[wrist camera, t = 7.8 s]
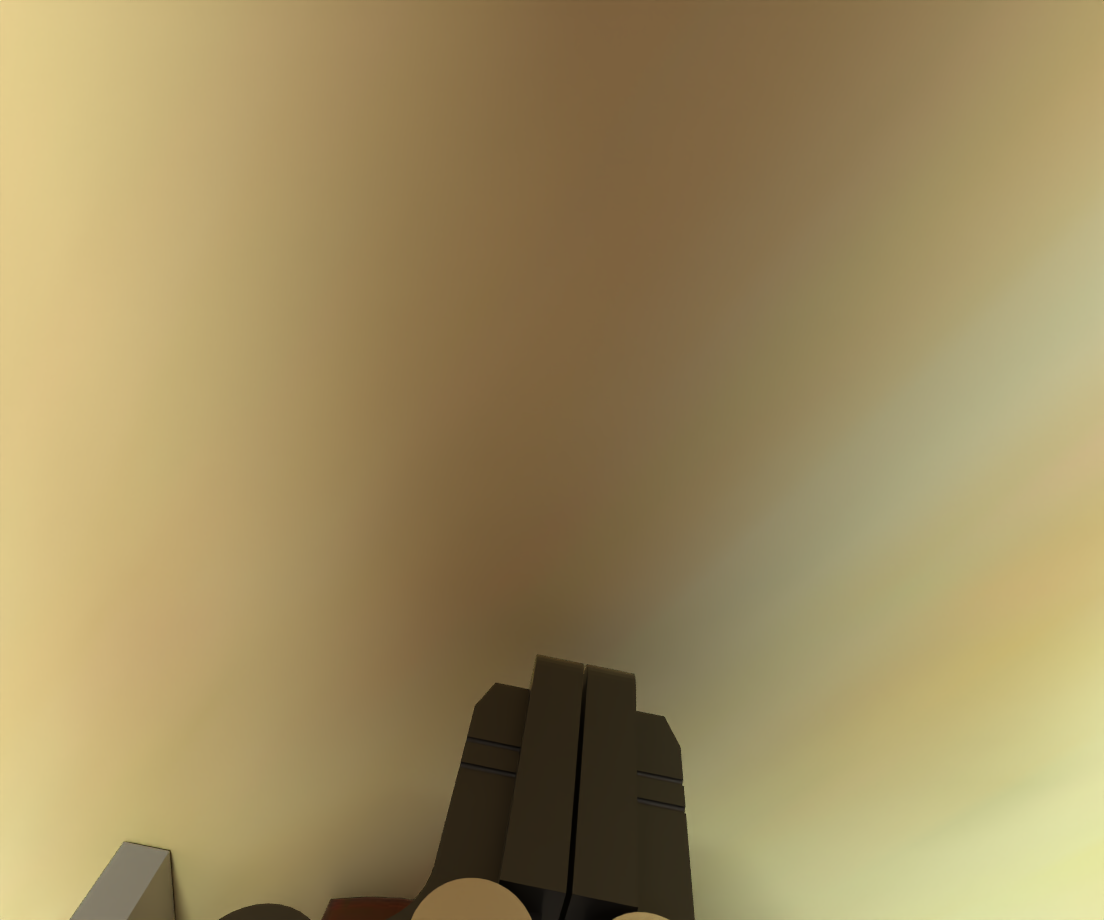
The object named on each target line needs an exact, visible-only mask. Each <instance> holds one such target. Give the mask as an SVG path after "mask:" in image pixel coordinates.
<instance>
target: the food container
mask: <svg viewBox="0 0 1104 920" xmlns="http://www.w3.org/2000/svg"><path fill="white" fill-rule="evenodd" d="M412 901H413V900H409V899H402V898H379V897H359V898H344V899H330V902H329V904H328V906H327V908H326V911H325V913H324V915H323V917H322V919H321V920H385V919H388V918H390V917H391V916H393V915H395V914H397V913H399V912H400V911H401V910H403V909H404V908H405V907H407V906H408V905H409V904H410V903H411V902H412Z"/></svg>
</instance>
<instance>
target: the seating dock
mask: <svg viewBox="0 0 1104 920" xmlns="http://www.w3.org/2000/svg"><path fill="white" fill-rule="evenodd" d="M70 920H175V912H174V900H173V888H172V876H171V863H170V851H167V850H162V849H158V848H153V847H148V846H143V845H138V844H133V843H128V842H123V843H122V845H121V846H120V848H119V849H118V851H117V852H116V854H115V855H114V856H113V858H112V859H111V861H110V862H109V864H108V865H107V867H106V868H105V869H104V871H103V872H102V874H101V875H100V877H99V878H98V880H97V881H96V882H95V884H94V885H93V887H92V888H91V890H90V891H89V892H88V894H87V895H86V897H85V898H84V900H83V901H82V903H81V904H80V905H79V907H78V908H77V910H76V911H75V913H74V914H73V916H72V917H71V918H70Z"/></svg>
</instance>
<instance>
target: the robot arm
mask: <svg viewBox="0 0 1104 920" xmlns="http://www.w3.org/2000/svg"><path fill="white" fill-rule="evenodd" d="M583 673H584V674H583ZM682 783H683V772H682V760H681V748H680V745H679V744H678V742H677V740H676V738H675V736H674V734H673V732H672V730H671V728H670V727H669V725H668V723H667V721H666V719H665V717H664V716H659V715H654V714H649V713H644V712H639V711H636V680H635V675H634V674H632V673H627V672H622V671H618V670H613V669H608V668H603V667H598V666H593V665H588V664H587V665H586V668H585V671H584V664H582V663H577V662H572V661H567V660H562V659H557V658H552V657H547V656H542V655H537V656H536V660H535V664H534V669H533V674H532V678H531V683H530V688H529V689H524V688H519V687H514V686H509V685H504V684H499V683H495V684H494V685H493V686H492V687H491V688H490V690H489V691H488V692H487V693H486V694H485V695H484V696H483V698H482V699H481V700H480V701H479V702H478V703H477V704H476V705H475V708H474V712H473V716H472V720H471V724H470V728H469V732H468V736H467V740H466V743H465V747H464V751H463V755H462V759H461V763H460V768H459V771H458V775H457V778H456V782H455V786H454V790H453V794H452V798H451V802H450V806H449V810H448V814H447V818H446V821H445V825H444V829H443V833H442V837H441V841H440V845H439V849H438V853H437V857H436V861H435V864H434V868H433V870H432V873H431V876H430V878H429V880H428V882H427V884H426V886H425V887H424V888H423V890H422V891H421V892H420V894H419V895H418V896H417V897H416V898H415V899H414V900H413V901H412V902H411V903H410V904H409V905H408V906H407V907H405V908H404V909H403V910H401V911H400V912H399V913H397V914H395V915H393V916H391V917H390V918H388V919H385V920H695V918H694V906H693V894H692V882H691V869H690V857H689V845H688V833H687V821H686V814H685V796H684V786H682ZM219 920H310V919H309V918H308V917H307V916H305V915H304V914H303V913H301V912H300V911H298V910H295V909H293V908H291V907H288V906H284V905H280V904H269V903H268V904H257V905H252V906H248V907H244V908H241V909H239V910H236V911H234V912H231V913H230V914H228V915H226V916H224V917H223V918H221V919H219Z"/></svg>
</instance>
